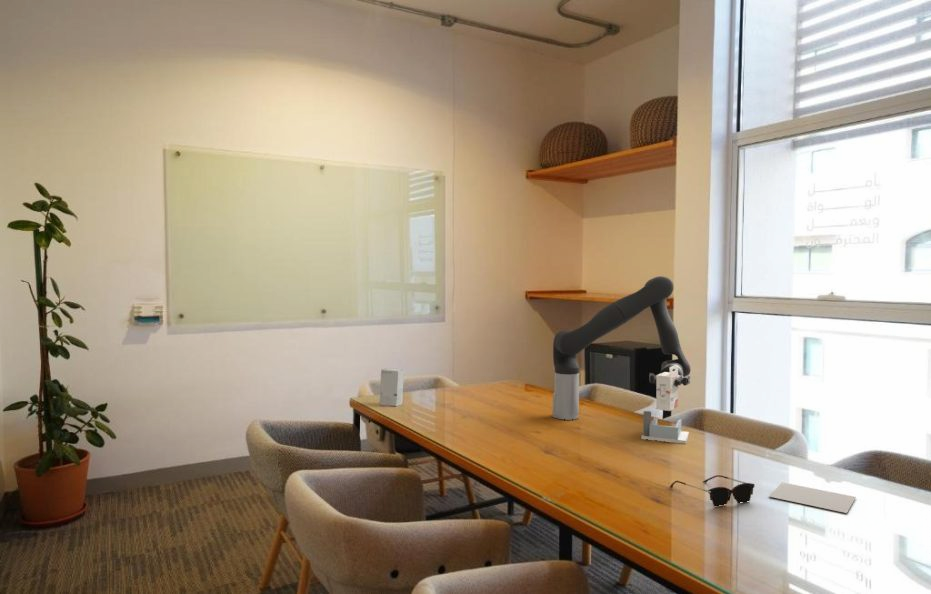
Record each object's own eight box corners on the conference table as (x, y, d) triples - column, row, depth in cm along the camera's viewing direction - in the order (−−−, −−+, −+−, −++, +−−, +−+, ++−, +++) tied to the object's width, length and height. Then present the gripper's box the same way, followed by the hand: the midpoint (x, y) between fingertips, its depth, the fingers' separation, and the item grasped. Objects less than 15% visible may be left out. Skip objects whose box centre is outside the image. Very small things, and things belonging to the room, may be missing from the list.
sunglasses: (710, 510, 147) (709, 489, 147) (665, 492, 162) (664, 472, 162) (755, 503, 152) (754, 482, 152) (707, 486, 167) (707, 467, 167)
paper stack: (790, 476, 173) (790, 473, 173) (900, 497, 157) (900, 494, 157) (768, 499, 155) (768, 496, 155) (890, 525, 139) (890, 522, 139)
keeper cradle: (641, 438, 210) (642, 412, 210) (646, 430, 222) (647, 405, 222) (685, 443, 204) (686, 416, 204) (688, 434, 216) (689, 408, 216)
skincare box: (379, 405, 260) (379, 369, 260) (386, 402, 266) (386, 367, 266) (397, 406, 258) (397, 370, 257) (403, 404, 263) (404, 368, 263)
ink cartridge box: (663, 405, 219) (664, 363, 218) (678, 406, 216) (678, 364, 215) (655, 409, 212) (656, 366, 211) (670, 411, 209) (670, 367, 208)
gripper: (651, 363, 230) (644, 370, 214) (692, 366, 224) (689, 373, 208) (650, 383, 230) (644, 391, 214) (692, 387, 224) (688, 395, 209)
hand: (666, 382), depth 211 cm, fingers closed on ink cartridge box, 5 cm apart
